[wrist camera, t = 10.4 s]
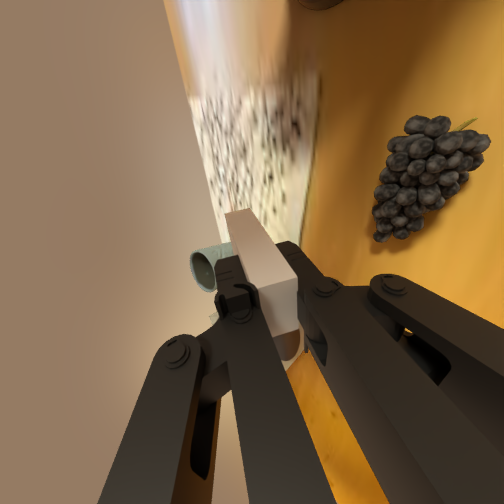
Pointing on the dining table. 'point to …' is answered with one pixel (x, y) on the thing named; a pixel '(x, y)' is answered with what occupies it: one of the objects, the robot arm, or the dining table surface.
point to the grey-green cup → (208, 264)
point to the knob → (287, 344)
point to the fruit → (424, 173)
